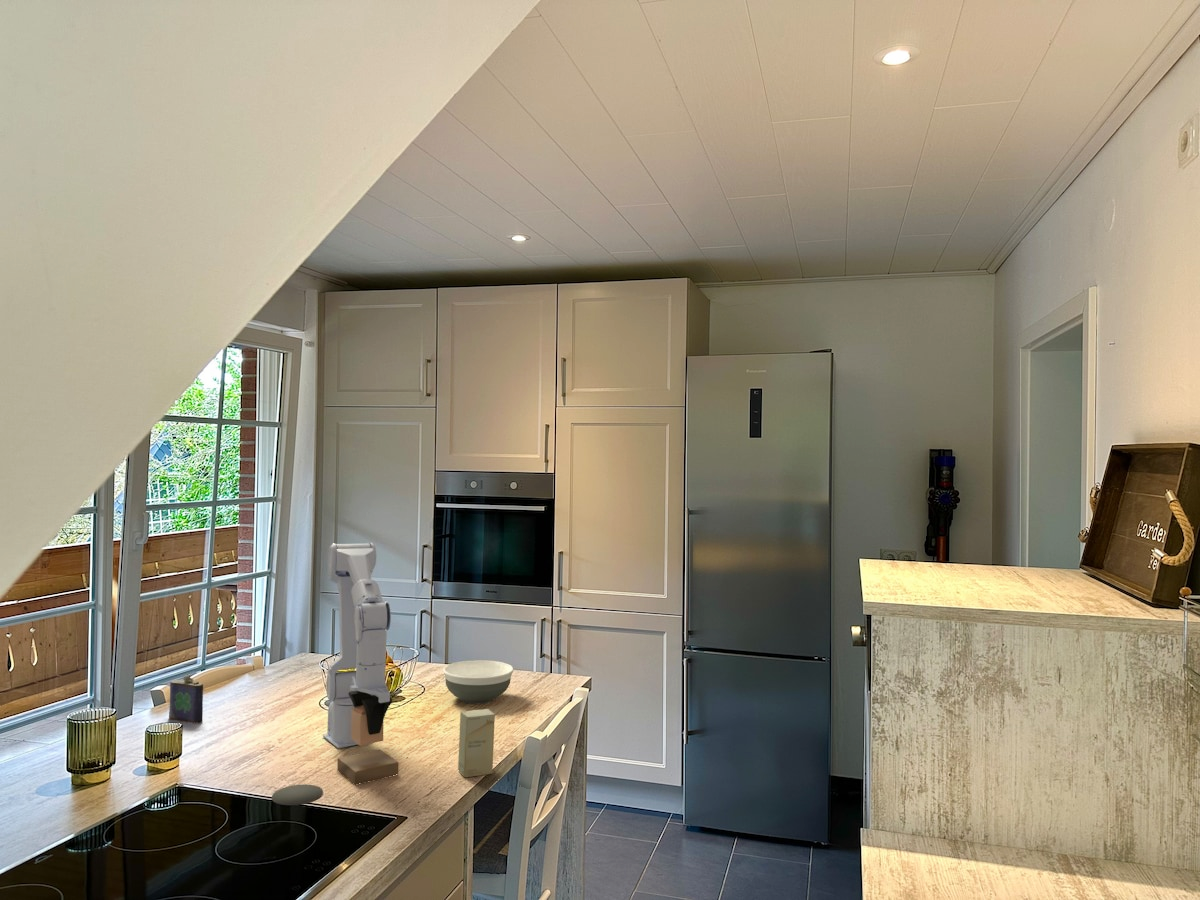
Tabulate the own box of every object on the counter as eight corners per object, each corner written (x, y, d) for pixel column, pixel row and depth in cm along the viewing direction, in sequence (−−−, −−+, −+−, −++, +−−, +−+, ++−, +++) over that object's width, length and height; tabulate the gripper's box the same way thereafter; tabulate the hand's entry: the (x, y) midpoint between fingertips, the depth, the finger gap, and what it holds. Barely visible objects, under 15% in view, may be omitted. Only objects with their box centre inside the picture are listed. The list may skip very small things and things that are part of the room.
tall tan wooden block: (351, 739, 165) (351, 707, 165) (373, 734, 168) (373, 702, 168) (360, 746, 161) (360, 713, 161) (383, 740, 164) (383, 708, 164)
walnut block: (337, 772, 166) (337, 757, 166) (379, 763, 171) (379, 749, 171) (354, 787, 159) (355, 771, 159) (398, 777, 164) (398, 762, 164)
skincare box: (464, 778, 163) (465, 717, 164) (457, 770, 167) (459, 711, 167) (493, 773, 166) (495, 713, 166) (486, 766, 170) (488, 707, 170)
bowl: (477, 685, 230) (477, 656, 231) (527, 698, 219) (528, 667, 220) (427, 700, 215) (427, 669, 215) (478, 714, 204) (479, 681, 204)
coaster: (265, 794, 154) (265, 791, 154) (313, 783, 160) (313, 780, 160) (280, 811, 147) (280, 808, 147) (329, 799, 152) (329, 796, 152)
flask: (166, 719, 194) (168, 674, 194) (176, 715, 197) (178, 671, 197) (196, 724, 191) (198, 678, 191) (206, 720, 194) (208, 675, 194)
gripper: (338, 657, 168) (336, 723, 168) (366, 672, 157) (364, 743, 157) (371, 653, 173) (369, 717, 173) (400, 667, 161) (398, 736, 161)
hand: (369, 729), depth 165 cm, fingers closed on tall tan wooden block, 5 cm apart
